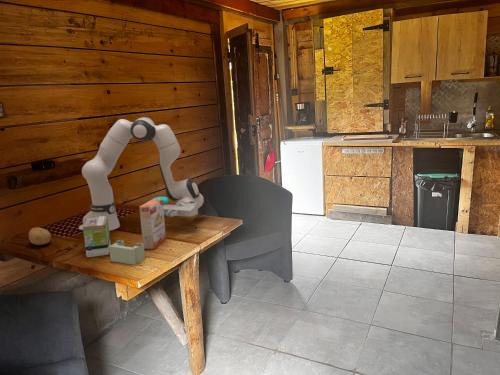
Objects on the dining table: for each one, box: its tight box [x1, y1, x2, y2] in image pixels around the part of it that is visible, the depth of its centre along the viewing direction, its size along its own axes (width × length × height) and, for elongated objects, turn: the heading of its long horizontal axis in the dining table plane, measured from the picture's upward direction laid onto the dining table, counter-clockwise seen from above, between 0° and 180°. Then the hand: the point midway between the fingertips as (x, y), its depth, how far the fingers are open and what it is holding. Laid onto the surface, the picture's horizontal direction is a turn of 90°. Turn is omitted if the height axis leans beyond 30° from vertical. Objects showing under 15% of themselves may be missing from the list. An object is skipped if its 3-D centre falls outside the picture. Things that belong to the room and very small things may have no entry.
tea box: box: [82, 216, 112, 258], centre depth 182 cm, size 15×10×15 cm, turn 17°
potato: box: [28, 227, 52, 246], centre depth 194 cm, size 10×14×8 cm
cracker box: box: [139, 198, 167, 250], centre depth 186 cm, size 14×6×21 cm, turn 168°
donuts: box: [152, 196, 169, 206], centre depth 236 cm, size 10×10×10 cm
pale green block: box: [109, 239, 146, 266], centre depth 171 cm, size 13×7×8 cm, turn 67°
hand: (168, 215), depth 197 cm, fingers closed
